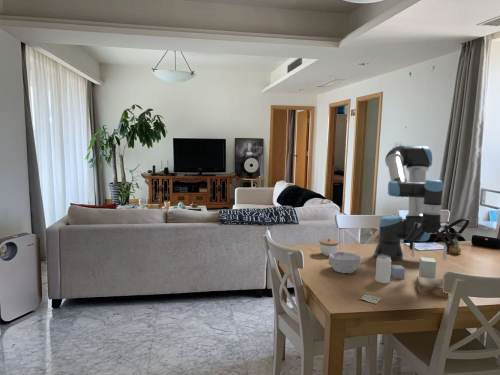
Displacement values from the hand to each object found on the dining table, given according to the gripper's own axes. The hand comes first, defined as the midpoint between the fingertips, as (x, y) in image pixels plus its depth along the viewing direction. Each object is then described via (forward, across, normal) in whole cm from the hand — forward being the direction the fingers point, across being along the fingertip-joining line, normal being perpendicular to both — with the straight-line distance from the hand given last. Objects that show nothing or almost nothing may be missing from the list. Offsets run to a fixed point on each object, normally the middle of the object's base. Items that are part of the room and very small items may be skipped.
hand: (428, 258), depth 173 cm
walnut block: (+11, 0, -13) cm, 17 cm away
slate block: (+11, -13, +1) cm, 17 cm away
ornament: (+10, +22, +55) cm, 60 cm away
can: (+11, -20, -8) cm, 24 cm away
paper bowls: (+11, -38, +1) cm, 40 cm away
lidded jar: (+10, -48, +26) cm, 55 cm away
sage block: (+11, 0, +1) cm, 11 cm away
